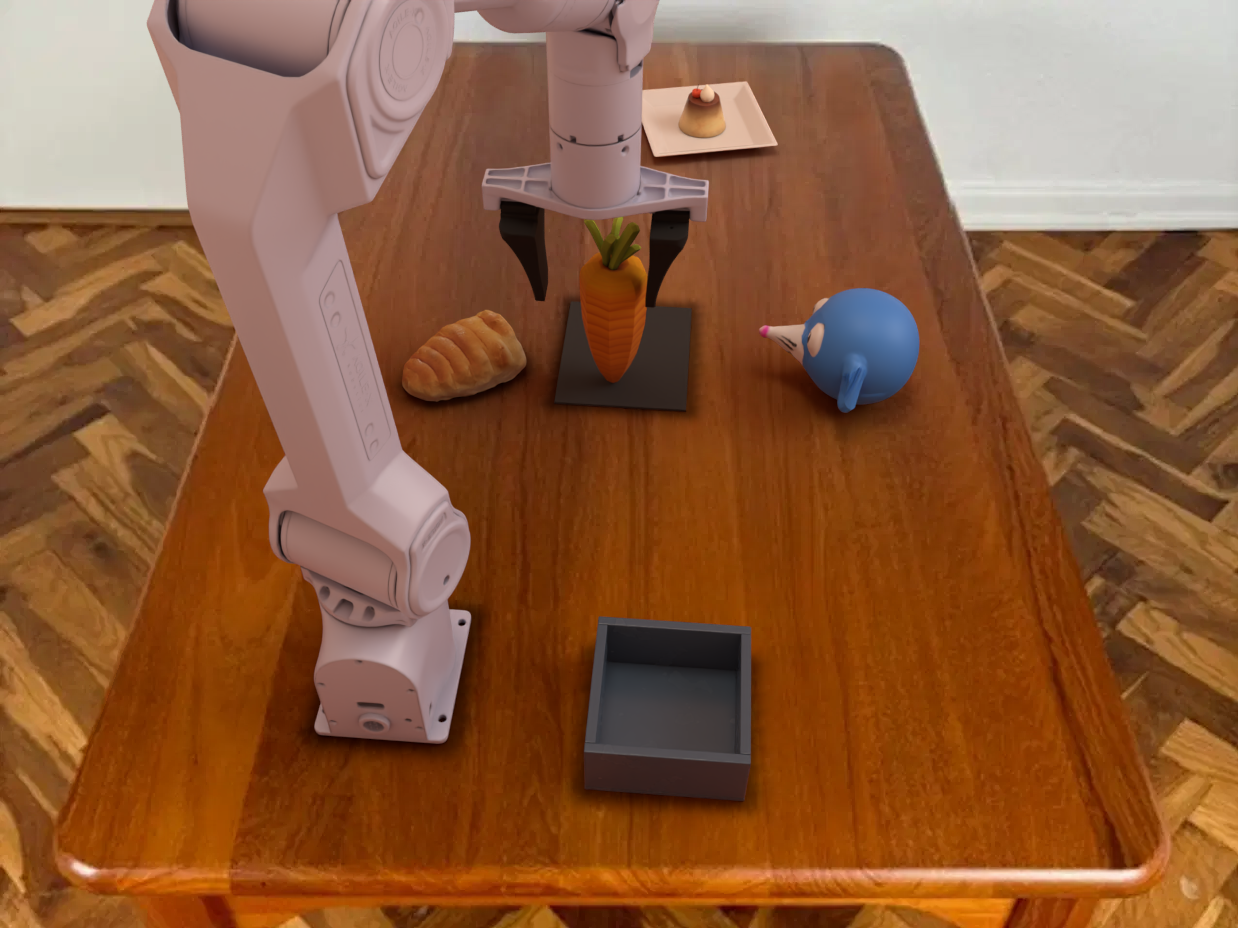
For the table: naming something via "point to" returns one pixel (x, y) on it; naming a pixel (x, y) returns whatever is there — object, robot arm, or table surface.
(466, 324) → the pastry
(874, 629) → the table surface
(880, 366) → the blue mole toy
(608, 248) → the carrot
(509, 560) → the table surface
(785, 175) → the table surface
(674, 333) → the mat
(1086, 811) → the table surface
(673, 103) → the dessert
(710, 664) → the bin
